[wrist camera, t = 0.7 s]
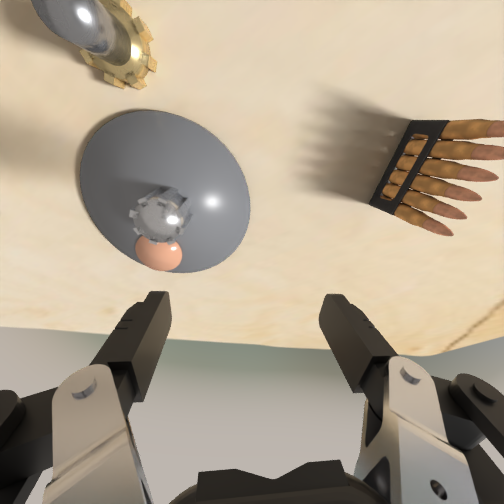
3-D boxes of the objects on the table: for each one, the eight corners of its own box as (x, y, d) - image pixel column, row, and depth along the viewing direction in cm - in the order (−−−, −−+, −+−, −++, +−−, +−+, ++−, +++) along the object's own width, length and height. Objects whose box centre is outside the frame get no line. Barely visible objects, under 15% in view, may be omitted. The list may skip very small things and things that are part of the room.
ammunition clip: (379, 206, 30) (453, 245, 19) (368, 204, 29) (438, 242, 19) (424, 123, 24) (560, 116, 14) (411, 120, 24) (540, 109, 14)
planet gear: (87, -19, 17) (-13, -119, 10) (162, 26, 19) (118, -35, 12) (85, 70, 20) (6, 36, 13) (150, 102, 22) (109, 87, 15)
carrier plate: (88, 68, 20) (35, 46, 15) (276, 163, 26) (286, 170, 20) (83, 243, 30) (51, 265, 25) (220, 284, 36) (216, 309, 30)
